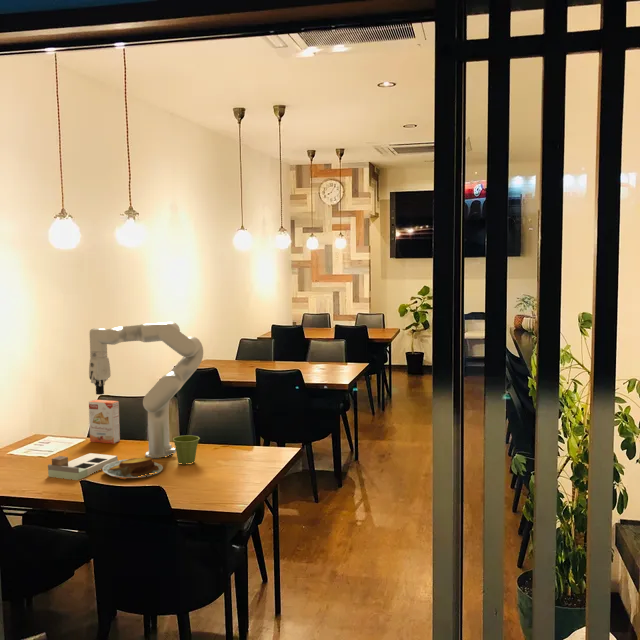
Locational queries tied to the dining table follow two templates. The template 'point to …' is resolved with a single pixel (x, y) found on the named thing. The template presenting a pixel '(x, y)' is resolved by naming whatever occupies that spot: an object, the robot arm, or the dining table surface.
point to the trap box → (81, 466)
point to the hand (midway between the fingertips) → (100, 394)
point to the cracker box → (104, 421)
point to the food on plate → (132, 468)
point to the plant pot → (186, 448)
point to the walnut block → (60, 461)
